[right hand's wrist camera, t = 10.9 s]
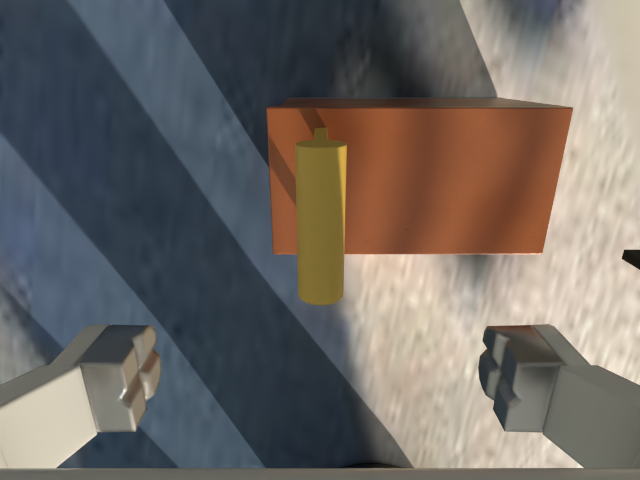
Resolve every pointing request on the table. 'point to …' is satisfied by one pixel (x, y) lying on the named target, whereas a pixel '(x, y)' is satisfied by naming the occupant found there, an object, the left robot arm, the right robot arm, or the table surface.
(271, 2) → the table surface
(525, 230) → the wooden door with handle
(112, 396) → the right robot arm
